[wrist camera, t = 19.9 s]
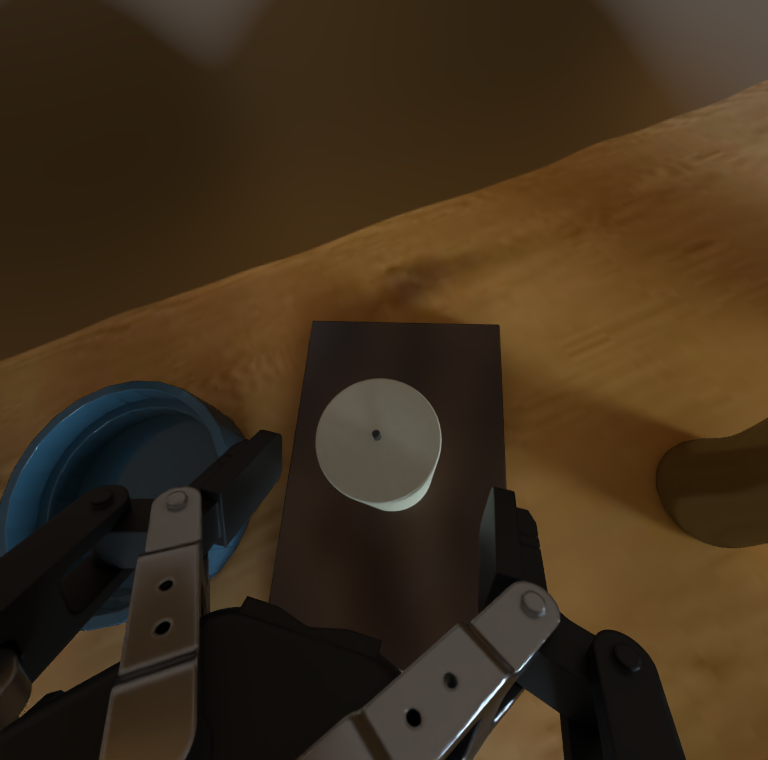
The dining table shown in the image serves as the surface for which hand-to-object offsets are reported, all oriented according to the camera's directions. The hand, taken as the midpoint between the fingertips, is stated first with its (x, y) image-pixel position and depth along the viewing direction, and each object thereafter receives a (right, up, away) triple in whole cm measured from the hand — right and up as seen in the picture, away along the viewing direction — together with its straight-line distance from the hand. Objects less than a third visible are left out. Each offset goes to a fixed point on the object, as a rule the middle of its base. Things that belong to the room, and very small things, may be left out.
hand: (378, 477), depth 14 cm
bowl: (-15, -4, +11) cm, 19 cm away
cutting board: (+1, -2, +10) cm, 10 cm away
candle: (+1, -2, +9) cm, 9 cm away
